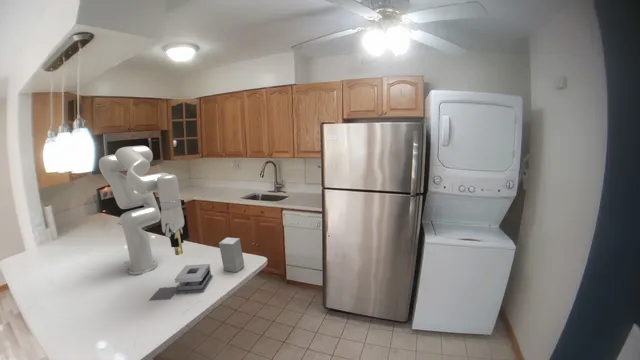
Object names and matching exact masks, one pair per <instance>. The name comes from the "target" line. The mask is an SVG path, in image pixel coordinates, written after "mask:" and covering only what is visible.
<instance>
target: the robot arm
mask: <svg viewBox="0 0 640 360" xmlns="http://www.w3.org/2000/svg"><path fill="white" fill-rule="evenodd" d="M153 155H154V154H153V152H152V150H151V149H150V148H149V147H148V146H146V145H133V146H123V147H120V148H118V149H117V150H116V152H115V154H109V155H105V156H102V157H101V158H100V159H99V160H98V167H99V170H100V172H101V174H102V176H103V178H104V179H105V180H106V182H107V183H108V185H109V186H110V188H111V191H112V195H113V197H114V199H115V202H116V204H117V206H118V207H119V208H120V209H121V210H127V209H132V208H135V209H132V210H129V211H126V212H123V213H122V214H121V215H120V216H119V223H120V226H121V228H122V230H123V233H124V236H125V241H126V247H127V251H128V256H129V260H127V261H125V262H124V265H123V267H124V268H129V269H128V274H129V275H135V276H137V275H138V276H139V275H143V274H145V273H148V272H151V271H153V270H155V269H156V268H157V266H158V262H157V261H156V260H154V258H153V253H152V248H151V247H152V246H151V242H150V236H149V233H148V232H147V231H145V230H144V229H142V228H145V227H146V226H150V225H153V224H156V223H158V222H161V230H162V233H163V234H165V237H168V239H169V240H170V247H171V248H174V247H179V240H178V238H177V232H176V231H177V230H178V229H179V232H180V238H181V244H184V242H185V241H184V236H183V232H184V231H183V228H184V225H185V218H184V212H183V209H182V201H181V195H180V189H179V187H180V186H179V181H178V177H177V176H176V175H175V174H169V173H167V172H159V173H152V174H147V173H148V172H149V171H150V169H151V162H152V161H153V158H154V156H153ZM125 171H127V172H126V175H125V174H123V173H121V172H125ZM156 192H158V198H159V203H160V208H161V210H160V208H159V205H158V203H157V201H156V200H157V199H156V197H155V194H154V193H156ZM140 206H144V207H141V208H136V207H140ZM171 230H172V231H171ZM172 233H174V235H173V234H172Z"/></svg>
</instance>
